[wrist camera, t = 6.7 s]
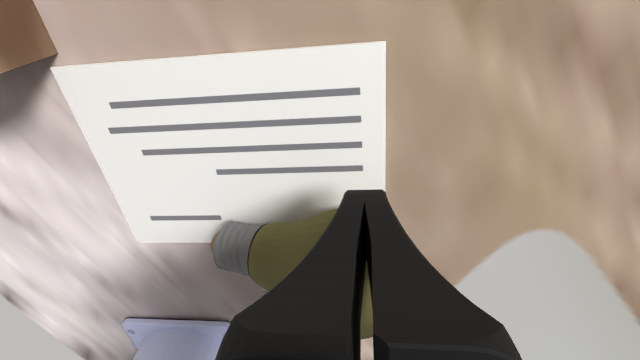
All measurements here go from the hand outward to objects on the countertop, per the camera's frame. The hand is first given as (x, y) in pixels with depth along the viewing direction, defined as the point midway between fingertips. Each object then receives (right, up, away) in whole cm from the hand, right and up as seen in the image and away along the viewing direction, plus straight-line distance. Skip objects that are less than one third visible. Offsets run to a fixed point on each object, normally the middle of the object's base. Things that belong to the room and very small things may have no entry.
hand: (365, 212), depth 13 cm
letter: (-6, +2, +4) cm, 7 cm away
